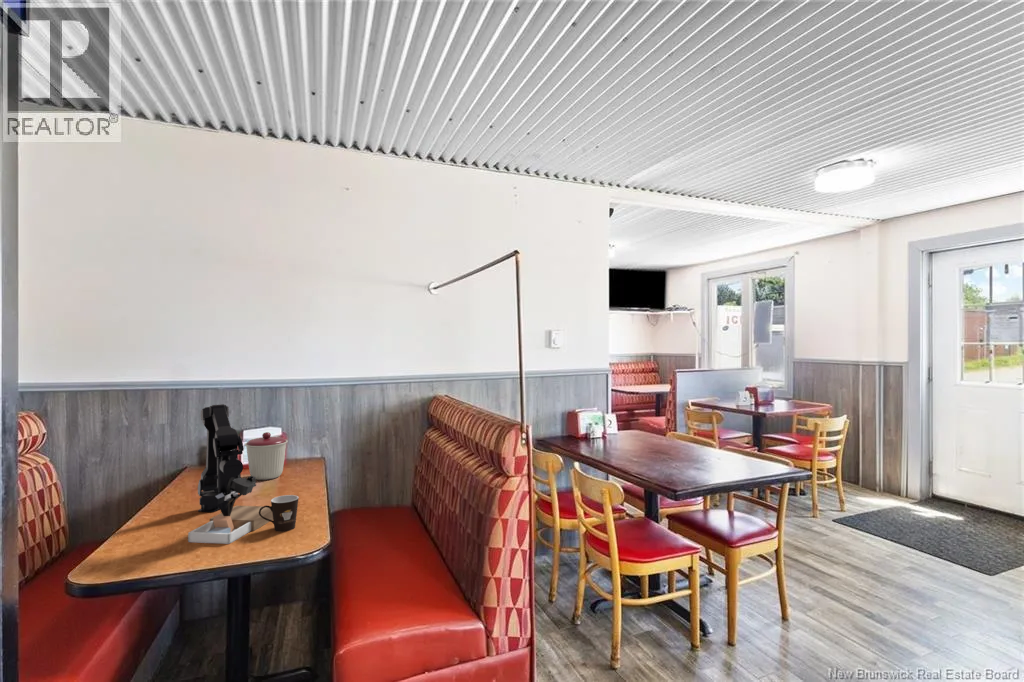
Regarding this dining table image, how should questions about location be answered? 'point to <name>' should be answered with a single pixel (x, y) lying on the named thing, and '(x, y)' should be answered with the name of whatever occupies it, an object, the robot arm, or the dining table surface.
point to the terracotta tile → (223, 522)
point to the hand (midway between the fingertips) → (227, 518)
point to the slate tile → (220, 530)
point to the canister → (266, 456)
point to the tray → (217, 534)
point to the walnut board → (249, 516)
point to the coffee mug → (283, 512)
